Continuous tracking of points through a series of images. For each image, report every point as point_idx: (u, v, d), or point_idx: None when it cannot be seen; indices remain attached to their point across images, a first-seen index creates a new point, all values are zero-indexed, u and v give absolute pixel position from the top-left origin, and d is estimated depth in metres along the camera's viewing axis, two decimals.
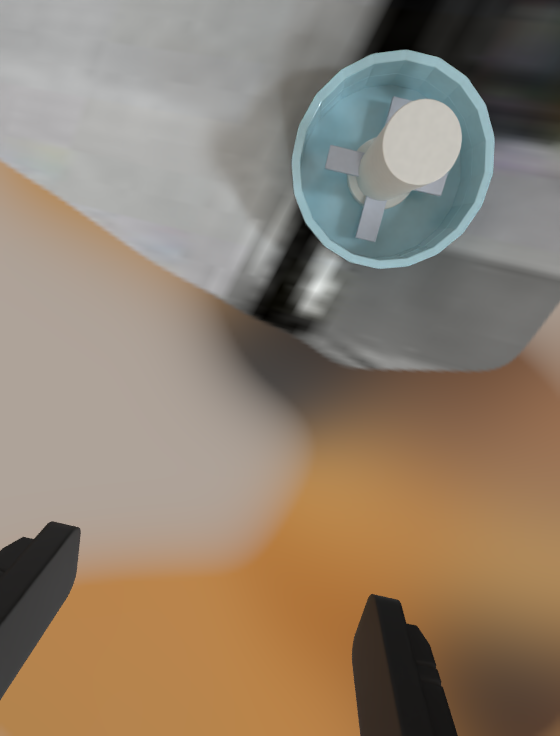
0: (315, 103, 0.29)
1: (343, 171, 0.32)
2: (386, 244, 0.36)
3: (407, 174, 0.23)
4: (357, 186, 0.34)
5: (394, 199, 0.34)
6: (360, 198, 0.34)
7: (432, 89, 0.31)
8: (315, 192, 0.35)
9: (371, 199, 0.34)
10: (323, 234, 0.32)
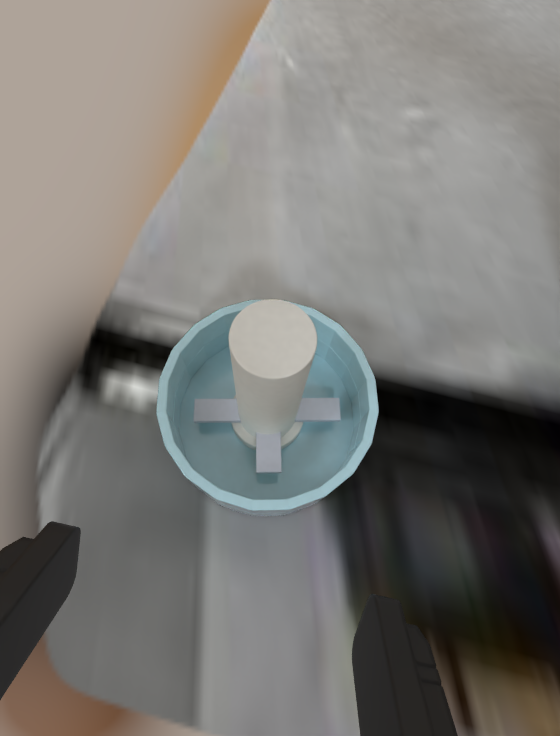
0: (306, 309, 0.30)
1: None
2: (197, 445, 0.31)
3: (237, 331, 0.20)
4: None
5: (244, 432, 0.30)
6: None
7: (355, 433, 0.30)
8: None
9: (237, 404, 0.30)
10: (184, 344, 0.28)
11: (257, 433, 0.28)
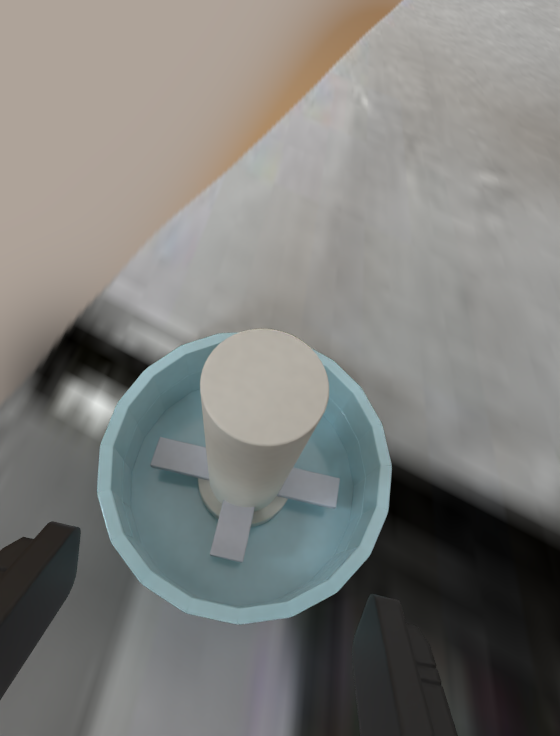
0: (323, 359, 0.24)
1: None
2: (148, 495, 0.24)
3: (218, 363, 0.14)
4: None
5: (210, 494, 0.23)
6: None
7: (351, 531, 0.23)
8: None
9: None
10: (162, 367, 0.22)
11: (224, 501, 0.22)
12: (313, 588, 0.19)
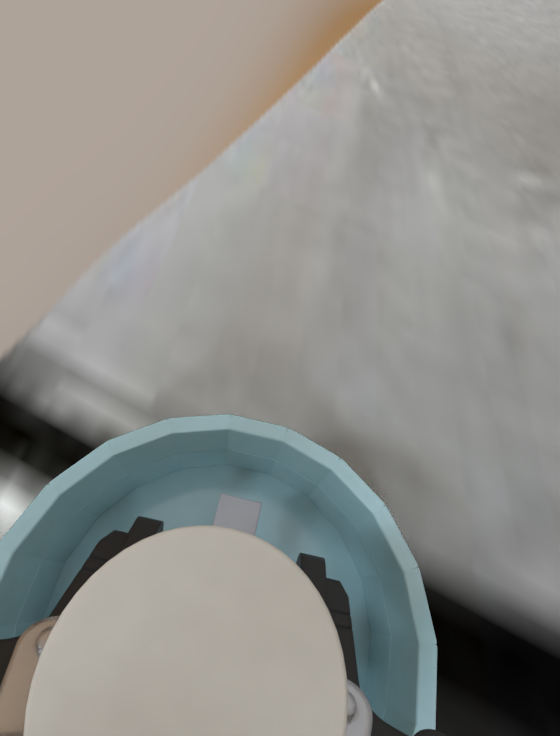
0: (326, 457, 0.16)
1: None
2: None
3: (79, 641, 0.06)
4: None
5: None
6: None
7: None
8: (188, 493, 0.19)
9: None
10: (75, 479, 0.14)
11: None
12: None
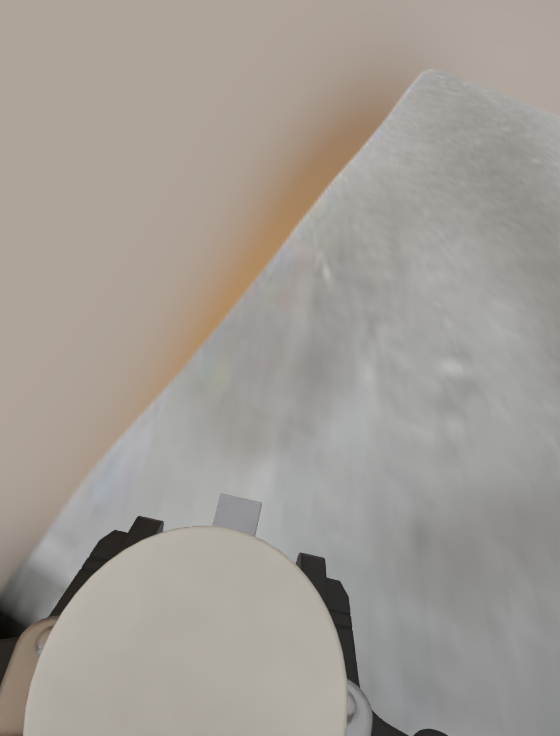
0: None
1: None
2: None
3: (78, 642, 0.06)
4: None
5: None
6: None
7: None
8: None
9: None
10: None
11: None
12: None
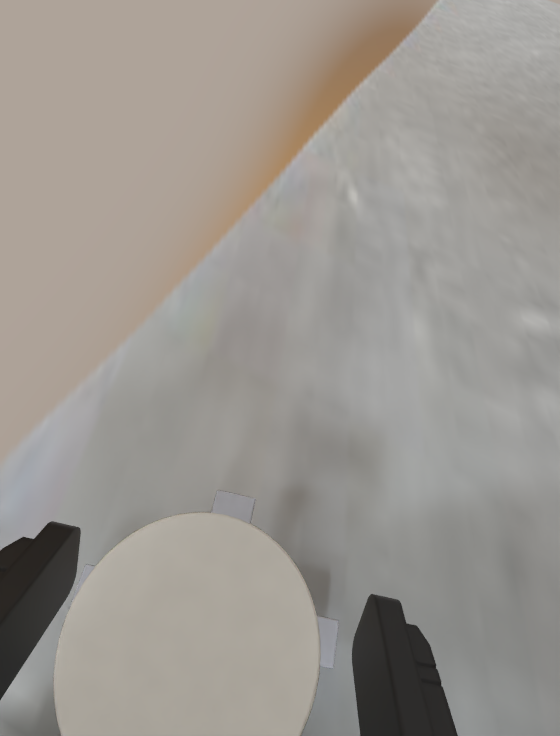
0: None
1: None
2: None
3: (98, 606, 0.07)
4: None
5: None
6: None
7: None
8: None
9: None
10: None
11: None
12: None
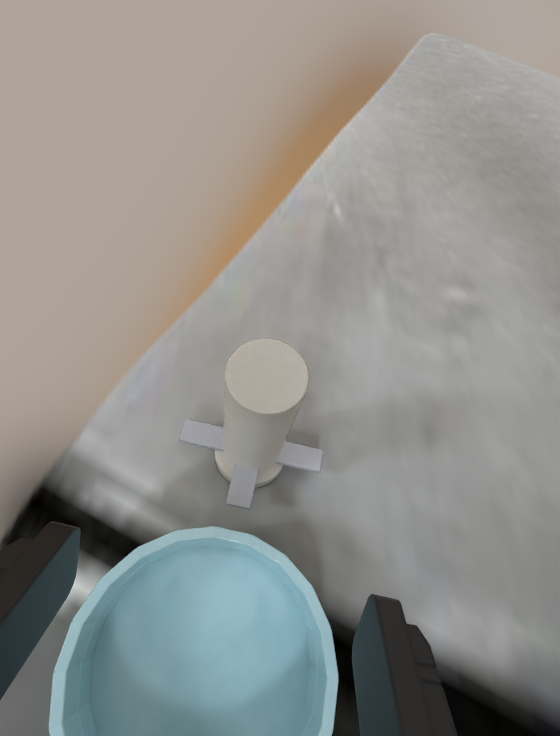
0: (276, 555, 0.24)
1: None
2: (108, 684, 0.25)
3: (236, 362, 0.21)
4: None
5: (224, 462, 0.31)
6: None
7: (302, 728, 0.23)
8: (187, 567, 0.28)
9: None
10: (117, 575, 0.23)
11: (236, 465, 0.29)
12: None
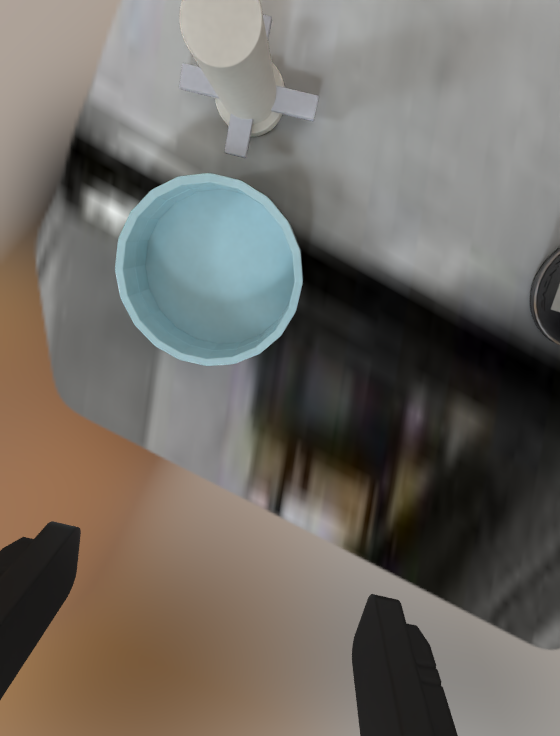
0: (260, 197, 0.30)
1: None
2: (159, 280, 0.37)
3: (189, 4, 0.21)
4: None
5: (225, 110, 0.33)
6: None
7: (284, 310, 0.36)
8: (202, 206, 0.35)
9: None
10: (141, 209, 0.31)
11: (231, 115, 0.31)
12: (246, 351, 0.34)
